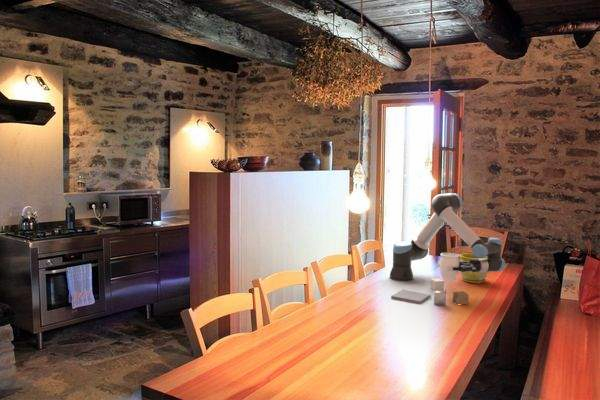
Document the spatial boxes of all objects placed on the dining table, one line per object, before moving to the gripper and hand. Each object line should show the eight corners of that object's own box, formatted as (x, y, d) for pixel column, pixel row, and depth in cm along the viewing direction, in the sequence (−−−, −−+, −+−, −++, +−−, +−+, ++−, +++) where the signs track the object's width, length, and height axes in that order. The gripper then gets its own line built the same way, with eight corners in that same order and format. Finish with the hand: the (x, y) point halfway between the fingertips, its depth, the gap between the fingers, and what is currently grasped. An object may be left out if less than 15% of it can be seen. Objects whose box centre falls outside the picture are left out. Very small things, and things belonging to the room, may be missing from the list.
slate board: (402, 292, 297) (402, 289, 297) (430, 297, 287) (430, 294, 287) (391, 298, 284) (391, 295, 284) (420, 303, 274) (420, 301, 274)
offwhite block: (430, 288, 306) (430, 278, 305) (439, 288, 307) (439, 278, 306) (434, 291, 300) (435, 281, 299) (444, 290, 301) (444, 280, 300)
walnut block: (452, 302, 278) (452, 291, 278) (462, 301, 279) (462, 291, 279) (457, 305, 272) (458, 294, 272) (468, 304, 274) (468, 294, 273)
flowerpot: (492, 284, 316) (493, 258, 314) (463, 284, 316) (464, 258, 314) (482, 277, 333) (483, 253, 332) (455, 277, 334) (456, 252, 332)
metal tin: (436, 302, 278) (436, 289, 277) (447, 304, 275) (447, 291, 274) (432, 304, 273) (432, 292, 272) (443, 306, 270) (443, 294, 269)
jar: (456, 278, 293) (457, 252, 292) (460, 282, 283) (461, 256, 282) (437, 277, 294) (438, 252, 293) (440, 281, 284) (442, 255, 283)
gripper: (488, 276, 281) (451, 277, 276) (467, 267, 303) (433, 268, 299) (489, 263, 280) (452, 264, 276) (468, 254, 302) (433, 255, 298)
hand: (442, 266), depth 287 cm, fingers closed on jar, 10 cm apart
